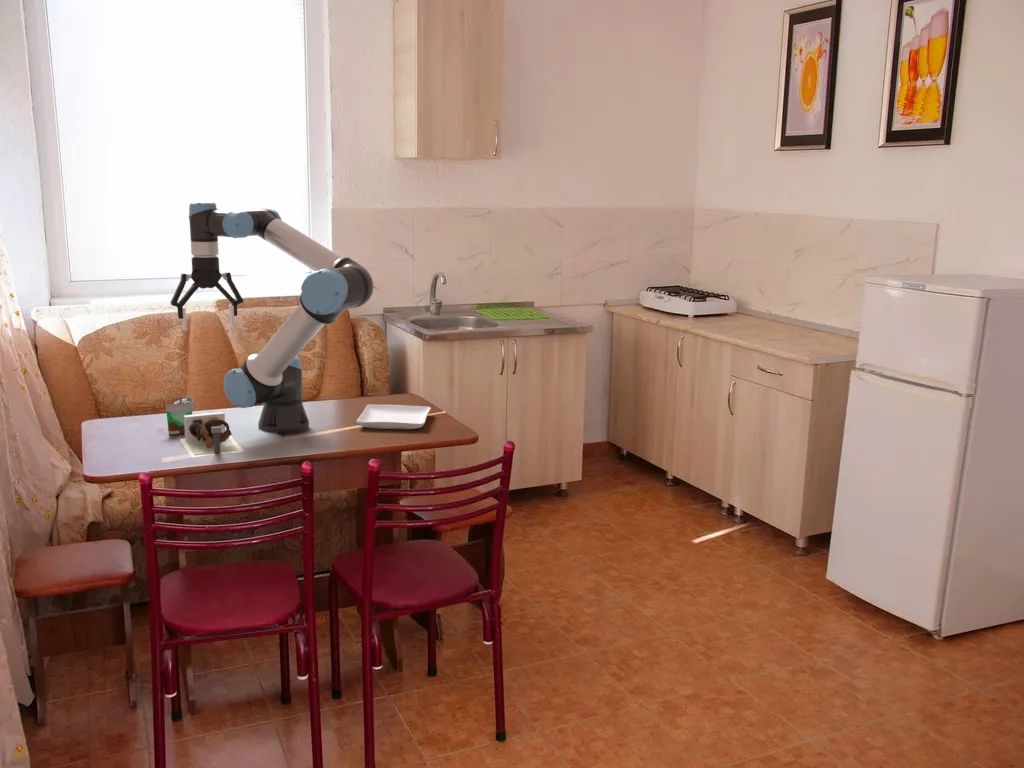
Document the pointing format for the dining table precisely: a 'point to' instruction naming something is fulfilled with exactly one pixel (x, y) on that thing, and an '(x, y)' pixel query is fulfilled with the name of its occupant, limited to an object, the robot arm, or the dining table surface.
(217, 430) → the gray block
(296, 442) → the dining table surface
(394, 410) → the salad plate
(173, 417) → the food container
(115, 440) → the dining table surface
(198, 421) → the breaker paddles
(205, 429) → the pottery mug
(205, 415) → the stand
